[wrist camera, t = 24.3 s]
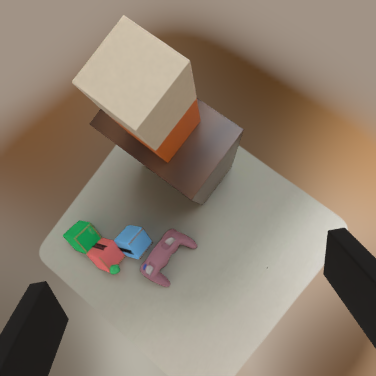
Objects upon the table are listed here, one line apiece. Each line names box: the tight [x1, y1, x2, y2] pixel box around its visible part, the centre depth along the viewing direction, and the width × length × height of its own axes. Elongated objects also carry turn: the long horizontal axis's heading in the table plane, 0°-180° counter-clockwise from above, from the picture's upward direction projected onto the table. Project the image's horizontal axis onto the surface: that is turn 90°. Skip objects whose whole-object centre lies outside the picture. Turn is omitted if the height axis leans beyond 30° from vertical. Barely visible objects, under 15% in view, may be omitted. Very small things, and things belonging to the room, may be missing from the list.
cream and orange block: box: [72, 15, 201, 163], centre depth 22 cm, size 6×6×11 cm
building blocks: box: [63, 221, 153, 274], centre depth 46 cm, size 8×8×12 cm
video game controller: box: [140, 229, 197, 287], centre depth 46 cm, size 10×5×7 cm, turn 144°
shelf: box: [90, 98, 243, 205], centre depth 39 cm, size 14×9×22 cm, turn 53°
